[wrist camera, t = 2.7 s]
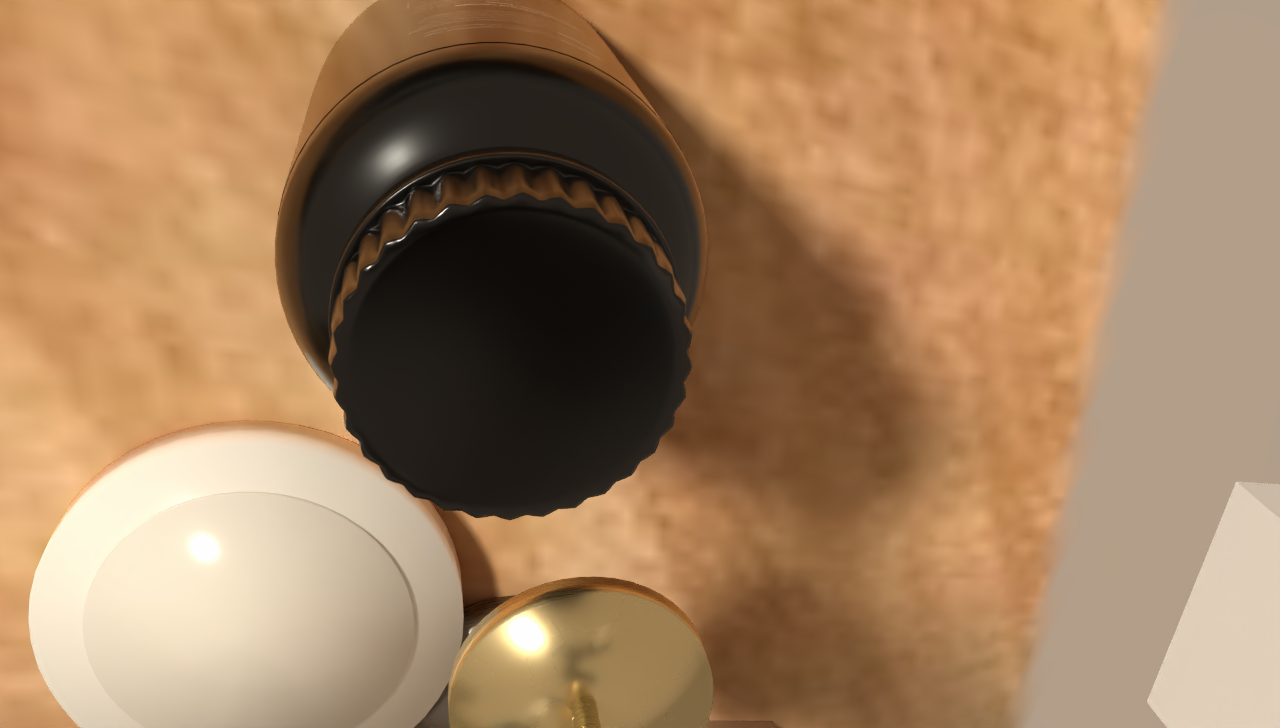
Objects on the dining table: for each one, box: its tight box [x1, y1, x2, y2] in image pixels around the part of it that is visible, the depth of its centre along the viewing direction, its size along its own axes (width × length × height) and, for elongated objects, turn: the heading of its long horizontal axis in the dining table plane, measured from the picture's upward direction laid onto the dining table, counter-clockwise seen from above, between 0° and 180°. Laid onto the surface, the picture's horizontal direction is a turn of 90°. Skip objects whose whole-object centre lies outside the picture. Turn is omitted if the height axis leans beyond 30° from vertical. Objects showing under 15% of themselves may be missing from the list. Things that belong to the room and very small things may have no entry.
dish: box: [29, 421, 464, 728], centre depth 30 cm, size 10×10×1 cm
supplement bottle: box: [275, 0, 708, 520], centre depth 21 cm, size 7×7×12 cm
